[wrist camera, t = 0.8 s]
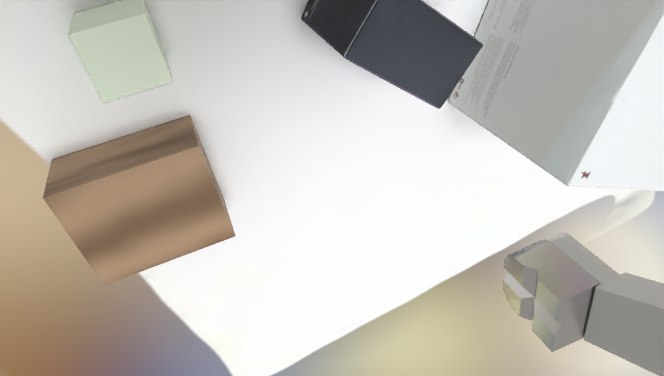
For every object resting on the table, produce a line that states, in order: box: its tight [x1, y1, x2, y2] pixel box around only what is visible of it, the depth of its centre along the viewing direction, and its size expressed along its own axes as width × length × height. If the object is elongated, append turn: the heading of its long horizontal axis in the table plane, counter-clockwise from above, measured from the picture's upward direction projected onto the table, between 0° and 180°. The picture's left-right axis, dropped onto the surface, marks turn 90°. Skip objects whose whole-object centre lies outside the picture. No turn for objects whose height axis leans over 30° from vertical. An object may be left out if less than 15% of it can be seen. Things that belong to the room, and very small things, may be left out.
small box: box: [302, 0, 483, 109], centre depth 39 cm, size 11×6×10 cm, turn 58°
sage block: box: [68, 0, 173, 103], centre depth 35 cm, size 5×5×6 cm
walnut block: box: [43, 115, 235, 285], centre depth 42 cm, size 10×12×6 cm
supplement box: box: [449, 0, 664, 191], centre depth 44 cm, size 17×13×18 cm
